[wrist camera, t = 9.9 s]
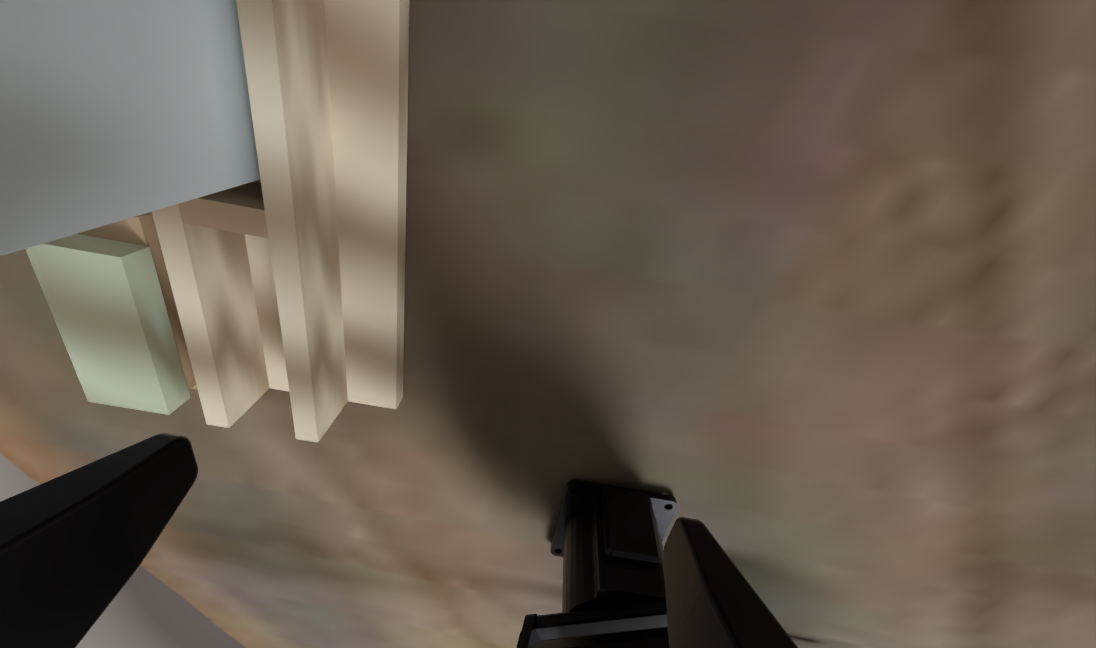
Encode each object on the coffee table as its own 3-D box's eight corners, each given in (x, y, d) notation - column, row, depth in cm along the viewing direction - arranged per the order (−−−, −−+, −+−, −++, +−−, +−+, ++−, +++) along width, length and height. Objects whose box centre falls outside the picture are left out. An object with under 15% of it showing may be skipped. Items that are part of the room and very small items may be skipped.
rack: (402, 397, 24) (373, 451, 20) (137, 352, 23) (59, 400, 20) (410, -92, 14) (357, -151, 11) (-36, -183, 14) (-245, -276, 10)
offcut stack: (233, 378, 22) (176, 426, 19) (153, 364, 22) (83, 410, 19) (196, 201, 18) (116, 225, 15) (97, 183, 18) (-5, 203, 15)
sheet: (292, 169, 17) (3, 255, 9) (251, 162, 17) (-82, 240, 9) (265, -98, 14) (-299, -436, 5) (213, -109, 14) (-454, -469, 5)
